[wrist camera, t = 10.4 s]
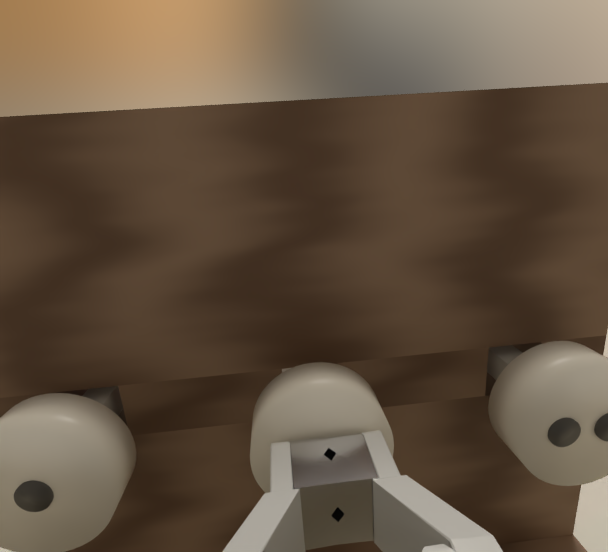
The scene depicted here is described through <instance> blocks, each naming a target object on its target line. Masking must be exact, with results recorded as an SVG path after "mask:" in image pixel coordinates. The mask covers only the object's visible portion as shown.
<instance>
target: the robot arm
mask: <svg viewBox="0 0 608 552" xmlns="http://www.w3.org/2000/svg"><path fill="white" fill-rule="evenodd" d="M290 447H291V449H290ZM366 541H374V543H375V544H376V545H377V546H378V547H379V548H380V550H381V551H382V552H503V551H502V549H501V548H500V546H499V544H498V543H497V541H496V539H495V538H494V536H493V535H492V534H490V533H489V532H487V531H486V530H485V529H483V528H482V527H480V526H479V525H477V524H476V523H474V522H473V521H472V520H470V519H469V518H467V517H466V516H464V515H463V514H462V513H460V512H459V511H457V510H456V509H454V508H453V507H452V506H450V505H449V504H447V503H446V502H444V501H443V500H441V499H440V498H439V497H437V496H436V495H434V494H433V493H431V492H430V491H429V490H427V489H426V488H424V487H423V486H421V485H420V484H419V483H417V482H416V481H414V480H413V479H411V478H410V477H408V476H407V475H402V476H401V475H400V473H399V470H398V468H397V466H396V464H395V461H394V459H393V457H392V454H391V452H390V450H389V448H388V445H387V443H386V441H385V439H384V436H383V434H382V432H381V431H380V430H378V431H371V432H364V433H362V434H352V435H344V436H337V437H329V438H318V439H307V440H297V441H290V442H279V443H271V447H270V493H264V495H263V496H262V497H261V499H260V500H259V502H258V503H257V504H256V506H255V507H254V508H253V510H252V511H251V513H250V514H249V515H248V517H247V518H246V520H245V521H244V522H243V524H242V525H241V526H240V528H239V529H238V531H237V532H236V533H235V535H234V536H233V538H232V539H231V540H230V542H229V543H228V544H227V546H226V547H225V549H224V550H223V551H222V552H305V550H309V549H315V548H321V547H327V546H332V545H338V544H339V543H340V544H347V543H356V542H366Z"/></svg>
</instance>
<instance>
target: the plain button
mask: <svg viewBox="0 0 608 552" xmlns="http://www.w3.org/2000/svg"><path fill="white" fill-rule="evenodd" d="M378 430H380V431H381V432H382V434H383V436H384V439H385V441H386V443H387V445H388V448H389V450H390V452H391V454H392V457H393V452H394V440H393V434H392V430H391V428H390V425H389V423H388V421H387V419H386V417H385V415H384V412H383V410H382V408H381V406H380V404H379V402H378V400H377V398H376V396H375V393H374V391H373V390H372V388H371V386H370V385H369V384H368V383H367V381H366V380H365V379H364V378H362V377H361V376H360V375H359V374H357V373H356V372H354V371H353V370H351V369H349V368H347V367H344V366H341V365H338V364H333V363H326V362H314V363H307V364H302V365H299V366H295V367H293V368H291V369H288V370H286V371H285V372H283V373H281V374H280V375H278V376H277V377H275V378H274V379H273V380H272V381H271V382H270V383H269V384H268V385H267V386H266V387H265V388H264V390H263V391H262V392H261V394H260V396H259V397H258V400H257V402H256V404H255V408H254V412H253V420H252V433H251V446H250V464H251V469H252V472H253V475H254V478H255V479H256V481H257V483H258V485H259V486H260V487H261V489H262V490H263V491H264V492H265V493H270V447H271V443H279V442H290V441H297V440H307V439H318V438H329V437H337V436H344V435H352V434H362V433H364V432H371V431H378ZM290 449H291V447H290Z"/></svg>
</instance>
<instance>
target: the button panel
mask: <svg viewBox="0 0 608 552" xmlns="http://www.w3.org/2000/svg"><path fill="white" fill-rule="evenodd" d="M607 328H608V83H596V84H580V85H579V84H578V85H560V86H543V87H526V88H509V89H491V90H472V91H455V92H436V93H418V94H401V95H384V96H365V97H349V98H348V97H347V98H330V99H312V100H294V101H278V102H277V101H276V102H259V103H242V104H223V105H205V106H188V107H170V108H152V109H135V110H117V111H99V112H82V113H63V114H48V115H47V114H46V115H28V116H10V117H0V418H1V417H2V416H3V415H4V414H5V413H6V412H7V411H9V410H10V409H11V408H12V407H14V406H15V405H16V404H18V403H20V402H22V401H24V400H26V399H28V398H31V397H34V396H38V395H43V394H49V393H67V394H74V395H79V396H83V394H84V393H85V392H86V391H87V390H88V389H92V388H102V387H111V386H118V387H119V391H120V396H121V400H122V404H123V409H122V411H121V412H120V414H119V415H118V416H119V417H120V418H121V419H122V420H123V422H124V423H125V424H126V426H127V427H128V429H129V430H130V432H131V434H132V436H133V439H134V442H135V446H136V464H135V468H134V470H133V473H132V475H131V477H130V480H129V482H128V484H127V486H126V488H125V490H124V493H123V495H122V497H121V499H120V501H119V503H118V506H117V508H116V510H115V512H114V514H113V516H112V518H111V520H110V522H109V524H108V525H107V526H106V527H105V529H104V530H103V531H102V532H101V533H100V534H99V535H98V536H97V537H95V538H94V539H93V540H91V541H90V542H88V543H86V544H84V545H82V546H80V547H78V548H75V549H72V550H69V551H66V552H222V551H223V550H224V549H225V547H226V546H227V544H228V543H229V542H230V540H231V539H232V538H233V536H234V535H235V533H236V532H237V531H238V529H239V528H240V526H241V525H242V524H243V522H244V521H245V520H246V518H247V517H248V515H249V514H250V513H251V511H252V510H253V508H254V507H255V506H256V504H257V503H258V502H259V500H260V499H261V497H262V496H263V495H264V493H265V492H264V491H263V490H262V489H261V487H260V486H259V485H258V483H257V481H256V479H255V478H254V475H253V472H252V469H251V464H250V446H251V433H252V420H253V412H254V408H255V404H256V402H257V400H258V397H259V396H260V394H261V392H262V391H263V390H264V388H265V387H266V386H267V385H268V384H269V383H270V382H271V381H272V380H273V379H274V378H275V377H277V376H278V375H280V374H281V373H282V369H285V368H293V367H295V366H299V365H302V364H307V363H314V362H326V363H333V364H338V365H341V366H344V367H347V368H349V369H351V370H353V371H354V372H356V373H357V374H359V375H360V376H361V377H362V378H364V379H365V380H366V381H367V383H368V384H369V385H370V386H371V388H372V390H373V391H374V393H375V396H376V398H377V400H378V402H379V404H380V406H381V408H382V410H383V412H384V415H385V417H386V419H387V421H388V423H389V425H390V428H391V430H392V434H393V440H394V452H393V459H394V461H395V464H396V466H397V468H398V470H399V473H400V475H401V476H402V475H407V476H408V477H410V478H411V479H413V480H414V481H416V482H417V483H419V484H420V485H421V486H423V487H424V488H426V489H427V490H429V491H430V492H431V493H433V494H434V495H436V496H437V497H439V498H440V499H441V500H443V501H444V502H446V503H447V504H449V505H450V506H452V507H453V508H454V509H456V510H457V511H459V512H460V513H462V514H463V515H464V516H466V517H467V518H469V519H470V520H472V521H473V522H474V523H476V524H477V525H479V526H480V527H482V528H483V529H485V530H486V531H487V532H489V533H490V534H492V535H493V536H494V538H495V539H496V541H497V543H498V544H499V546H500V548H501V549H502V551H503V552H587V551H586V550H585V548H584V547H583V546H582V545H581V544H580V543H579V541H578V540H577V539H576V538H575V537H574V535H573V530H574V524H575V518H576V512H577V506H578V500H579V494H580V488H581V485H575V486H559V485H553V484H550V483H547V482H544V481H542V480H540V479H538V478H537V477H536V476H534V475H533V474H532V473H531V472H530V471H529V470H528V469H527V468H526V467H525V466H524V465H523V463H522V462H521V461H520V460H519V459H518V458H517V456H516V455H515V454H514V453H513V452H512V451H511V450H510V448H509V447H508V446H507V445H506V444H505V443H504V442H503V440H502V439H501V438H500V437H499V436H498V435H497V433H496V432H495V431H494V429H493V427H492V425H491V422H490V419H489V412H488V404H489V397H490V394H491V390H492V388H493V386H494V383H495V382H496V380H495V379H494V378H493V377H492V376H491V375H490V374H489V373H488V372H487V364H488V351H489V347H498V346H508V345H513V346H514V347H515V348H517V349H518V350H520V351H521V352H525V351H527V350H528V349H530V348H532V347H535V346H537V345H540V344H543V343H547V342H553V341H571V342H576V343H579V344H582V345H584V346H586V347H588V348H590V349H592V350H594V351H595V352H597V353H599V354H601V355H603V352H604V346H605V340H606V334H607ZM305 552H382V551H381V550H380V548H379V547H378V546H377V545H376V544H375V543H374V541H366V542H356V543H347V544H340V543H339V544H338V545H332V546H327V547H321V548H315V549H309V550H305Z"/></svg>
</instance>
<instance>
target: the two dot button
mask: <svg viewBox="0 0 608 552" xmlns="http://www.w3.org/2000/svg"><path fill="white" fill-rule="evenodd" d="M487 372H488V373H489V374H490V375H491V376H492V377H493V378H494V379H495V380H496V382H495V383H494V386H493V388H492V390H491V394H490V397H489V404H488V412H489V419H490V422H491V425H492V427H493V429H494V431H495V432H496V433H497V435H498V436H499V437H500V438H501V439H502V440H503V442H504V443H505V444H506V445H507V446H508V447H509V448H510V450H511V451H512V452H513V453H514V454H515V455H516V456H517V458H518V459H519V460H520V461H521V462H522V463H523V465H524V466H525V467H526V468H527V469H528V470H529V471H530V472H531V473H532V474H533V475H534V476H536V477H537V478H538V479H540V480H542V481H544V482H547V483H550V484H553V485H559V486H575V485H582V484H586V483H590V482H593V481H596V480H598V479H601V478H603V477H605V476H607V475H608V358H606V357H605V356H603V355H601V354H599V353H597V352H595V351H594V350H592V349H590V348H588V347H586V346H584V345H582V344H579V343H576V342H571V341H553V342H547V343H543V344H540V345H537V346H535V347H532V348H530V349H528V350H527V351H525V352H521V351H520V350H518V349H517V348H515V347H514V346H513V345H508V346H498V347H489V351H488V364H487Z"/></svg>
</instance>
